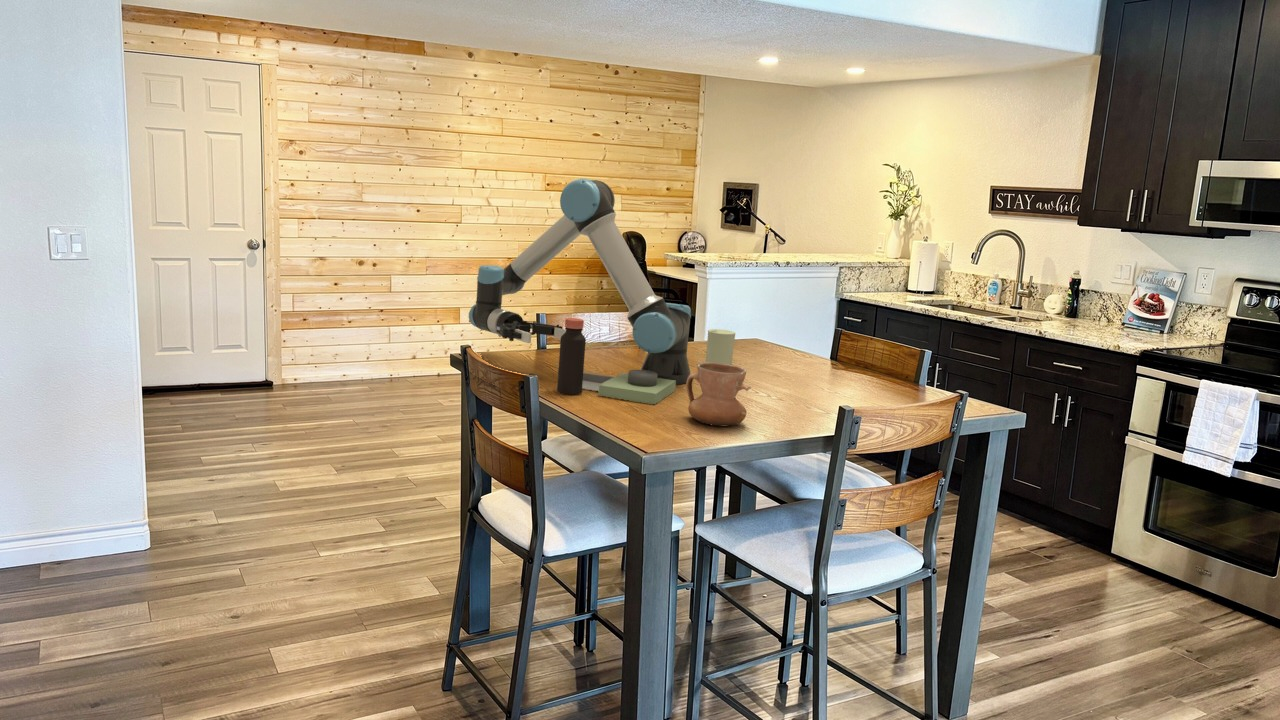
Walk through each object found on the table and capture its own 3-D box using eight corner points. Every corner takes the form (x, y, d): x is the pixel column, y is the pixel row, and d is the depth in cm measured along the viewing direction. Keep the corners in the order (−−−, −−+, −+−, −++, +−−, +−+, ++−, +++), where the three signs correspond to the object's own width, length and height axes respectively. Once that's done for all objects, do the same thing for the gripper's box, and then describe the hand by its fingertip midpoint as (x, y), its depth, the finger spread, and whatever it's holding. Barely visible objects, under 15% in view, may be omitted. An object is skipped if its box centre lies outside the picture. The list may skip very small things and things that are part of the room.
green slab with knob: (583, 377, 271) (584, 357, 270) (675, 390, 263) (676, 370, 262) (557, 389, 252) (558, 368, 251) (655, 404, 245) (657, 382, 243)
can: (700, 362, 310) (703, 327, 308) (725, 363, 313) (729, 328, 311) (710, 368, 301) (714, 332, 299) (736, 368, 304) (740, 333, 302)
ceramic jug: (759, 425, 232) (766, 370, 230) (729, 434, 221) (735, 376, 218) (700, 410, 243) (705, 357, 240) (668, 418, 231) (673, 363, 229)
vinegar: (583, 395, 248) (589, 322, 244) (558, 394, 246) (563, 320, 243) (580, 389, 254) (585, 318, 251) (555, 389, 253) (560, 316, 249)
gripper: (539, 334, 279) (583, 348, 264) (468, 338, 262) (511, 353, 247) (541, 310, 278) (586, 322, 263) (470, 312, 261) (513, 325, 246)
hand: (550, 337), depth 255 cm, fingers open, 13 cm apart
